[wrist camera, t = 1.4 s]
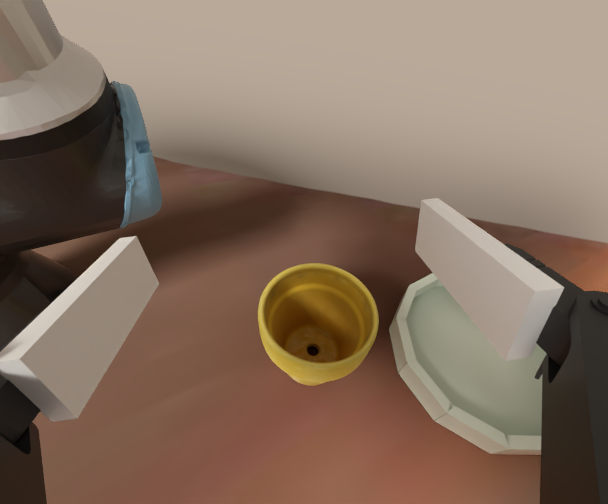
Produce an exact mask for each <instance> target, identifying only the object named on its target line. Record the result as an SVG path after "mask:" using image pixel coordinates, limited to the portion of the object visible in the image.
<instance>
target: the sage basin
mask: <svg viewBox="0 0 608 504" xmlns="http://www.w3.org/2000/svg"><path fill="white" fill-rule="evenodd" d="M389 332H390V337H391V342H392V346H393V351H394V356H395V361H396V365H397V370H398V374H399V375H400V376H401V378H402V379H403V380H404V382H405V383H406V384H407V386H408V387H409V388H410V390H411V391H412V392H413V394H414V395H415V396H416V398H417V399H418V400H419V402H420V403H421V404H422V406H423V407H424V408H425V410H426V411H427V412H428V414H429V415H430V416H431V418H432V419H433V420H435V422H437V423H439V424H440V425H442V426H444V427H445V428H447V429H449V430H450V431H452V432H454V433H455V434H457V435H459V436H461V437H462V438H464V439H466V440H467V441H469V442H471V443H472V444H474V445H476V446H477V447H479V448H481V449H482V450H484V451H486V452H488V453H489V454H517V455H541V426H542V375H541V377H540V378H539V380H538V379H536V378H534V377H535V375H536V372H537V371H538V369H539V367H540V365H541V363H542V361H543V359H544V357H545V356H546V354H547V353H546V352H545V351H544V350H543V349H542V348H541V347H540V346H539V345H538V344H536V346H535V348H534V350H533V352H532V355H531V357H530V358H524V359H516V360H509V361H505V360H504V359H503V357H502V356H501V355H500V354H499V353H498V351H497V350H496V349H495V348H494V346H493V345H492V344H491V343H490V342H489V340H488V339H487V338H486V337H485V335H484V334H483V333H482V332H481V331H480V329H479V328H478V327H477V326H476V325H475V323H474V322H473V321H472V320H471V318H470V317H469V316H468V315H467V314H466V312H465V311H464V310H463V309H462V308H461V306H460V305H459V304H458V303H457V301H456V300H455V299H454V298H453V297H452V295H451V294H450V293H449V292H448V291H447V289H446V288H445V287H444V286H443V284H442V283H441V282H440V281H439V280H438V278H437V277H436V276H435V275H434V273H432V274H430V275H428V276H426V277H424V278H422V279H420V280H418V281H416V282H415V283H413V284H411V285H409V286H408V288H407V290H406V292H405V294H404V295H403V297H402V299H401V301H400V304H399V306H398V309H397V311H396V313H395V316H394V318H393V321H392V323H391V325H390V328H389Z"/></svg>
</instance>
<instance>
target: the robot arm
mask: <svg viewBox="0 0 608 504" xmlns="http://www.w3.org/2000/svg"><path fill="white" fill-rule="evenodd" d="M149 146H150V144H149V140H148V137H147V131H146V128H145V124H144V120H143V117H142V113H141V110H140V107H139V104H138V101H137V98H136V95H135V93H134V91H133V89H132V88H131V87H130V86H128V85H126V84H120V83H118V82H116V83H115V81H113V82H111V83H109V81H108V79H107V77H106V74H105V72H104V70H103V68H102V66H101V64H100V63H99V61H98V60H97V59H96V58H95V57H94V55H92V54H91V53H90V52H88V51H87V50H85V49H84V48H81V47H80V46H78V45H77V44H75V43H73V42H71V41H70V40H68V39H66V38H64V37H63V36H61V35H60V33H59V32H58V30H57V28H56V26H55V24H54V22H53V20H52V18H51V16H50V14H49V13H48V10H47V8H46V6H45V5H44V3H43V1H42V0H0V504H47V502H46V493H45V484H44V475H43V466H42V457H41V448H40V439H39V430H38V428H37V427H36V425H35V424H33V423H32V421H33V420H34V418H35V417H36V416H37V414H38V413H39V412H40V411H41V412H42V413H43V414H44V415H45V416H46V417H47V418H48V419H49V420H51V421H52V422H54V421H62V420H69V419H77V418H78V417H79V415H80V413H81V412H82V410H83V409H84V407H85V405H86V404H87V402H88V400H89V399H90V397H91V395H92V394H93V392H94V390H95V389H96V387H97V385H98V384H99V382H100V381H101V379H102V377H103V376H104V374H105V372H106V371H107V369H108V367H109V366H110V364H111V362H112V361H113V359H114V357H115V356H116V354H117V353H118V351H119V349H120V348H121V346H122V344H123V343H124V341H125V339H126V338H127V336H128V334H129V333H130V331H131V329H132V328H133V326H134V325H135V323H136V321H137V320H138V318H139V316H140V315H141V313H142V311H143V310H144V308H145V306H146V305H147V303H148V301H149V300H150V298H151V297H152V295H153V293H154V292H155V290H156V288H157V287H158V285H159V282H158V280H157V278H156V276H155V274H154V272H153V270H152V268H151V265H150V263H149V261H148V259H147V257H146V255H145V253H144V251H143V249H142V246H141V244H140V242H139V240H138V238H137V236H133V237H125V238H119V239H118V240H117V241H116V242H115V243H114V244H113V245H112V246H111V247H110V248H109V249H108V250H107V251H106V252H105V253H104V254H103V255H102V256H100V257H99V258H98V259H97V260H96V261H95V262H94V263H93V264H92V265H91V266H90V267H89V268H88V269H87V270H86V271H85V272H84V273H83V274H82V275H81V276H79V277H78V278H77V277H76V276H75V275H74V273H73V272H72V271H71V270H69V269H68V268H67V267H65V266H64V265H62V264H60V263H58V262H56V261H54V260H51V259H49V258H47V257H45V256H43V255H41V254H38V253H36V252H34V251H32V250H31V249H35V248H39V247H43V246H47V245H52V244H56V243H60V242H64V241H68V240H72V239H76V238H81V237H85V236H89V235H93V234H97V233H101V232H106V231H110V230H114V229H118V228H120V229H121V228H124V227H126V226H127V225H129V224H132V223H135V222H138V221H141V220H144V219H147V218H151V217H153V216H154V215H156V214H157V213H158V212H159V210H160V209H161V206H162V195H161V189H160V184H159V179H158V175H157V170H156V166H155V162H154V158H153V155H152V152H151V149H150V147H149ZM415 252H416V253H417V254H418V255H419V256H420V258H421V259H422V260H423V261H424V263H425V264H426V265H427V266H428V267H429V269H430V270H431V271H432V272H433V273H434V275H435V276H436V277H437V278H438V280H439V281H440V282H441V283H442V284H443V286H444V287H445V288H446V289H447V291H448V292H449V293H450V294H451V295H452V297H453V298H454V299H455V300H456V301H457V303H458V304H459V305H460V306H461V308H462V309H463V310H464V311H465V312H466V314H467V315H468V316H469V317H470V318H471V320H472V321H473V322H474V323H475V325H476V326H477V327H478V328H479V329H480V331H481V332H482V333H483V334H484V335H485V337H486V338H487V339H488V340H489V342H490V343H491V344H492V345H493V346H494V348H495V349H496V350H497V351H498V353H499V354H500V355H501V356H502V357H503V359H504V360H505V361H509V360H516V359H524V358H530V357H531V355H532V352H533V350H534V348H535V346H536V344H538V345H539V346H540V347H541V348H542V349H543V350H544V351H545V352H546V353H547V354H546V356H545V357H544V359H543V361H542V363H541V365H540V367H539V369H538V371H537V372H536V375H535V377H534V378H536V379H538V380H539V378H540V377H541V375H542V426H541V482H540V504H608V293H606V292H599V291H583V290H582V289H580V288H579V287H577V286H576V285H574V284H573V283H571V282H570V281H568V280H567V279H565V278H564V277H562V276H561V275H560V274H558V273H557V272H555V271H554V270H552V269H551V268H549V267H546V265H545V264H543V263H542V262H540V261H539V260H535V258H534V257H533V256H531V255H530V254H528V253H527V252H525V251H524V250H522V249H519V248H517V247H514V246H512V245H509V244H502V243H501V242H499V241H498V240H496V239H495V238H494V237H492V236H491V235H489V234H488V233H487V232H485V231H484V230H482V229H481V228H479V227H478V226H477V225H475V224H474V223H472V222H471V221H470V220H468V219H467V218H465V217H464V216H463V215H461V214H460V213H458V212H457V211H455V210H454V209H452V208H451V207H450V206H448V205H447V204H446V203H444V202H443V201H441V200H440V199H438V198H433V199H426V200H421V206H420V214H419V222H418V230H417V238H416V246H415Z"/></svg>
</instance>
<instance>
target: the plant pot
mask: <svg viewBox="0 0 608 504" xmlns="http://www.w3.org/2000/svg"><path fill="white" fill-rule="evenodd" d="M258 322H259V329H260V335H261V339H262V342H263V345H264V348H265V350H266V352H267V354H268V355H269V357H270V358H271V360H272V361H273V362H274V363H275V364H276V365H277V366H278V367H279V368H280V369H282V370H283V371H284V372H286V373H287V374H288V375H289V376H290V377H291V378H292V379H293V380H295V381H297V382H299V383H301V384H304V385H319V384H322V383H325V382H328V381H333V380H337V379H340V378H342V377H344V376H346V375H348V374H350V373H351V372H352V371H354V370H355V369H356V368H357V367H358V366H359V365H360V364H361V362H362V361H363V360H364V358H365V357H366V355H367V354H368V352H369V350H370V349H371V347H372V345H373V343H374V341H375V338H376V335H377V332H378V325H379V317H378V310H377V306H376V303H375V301H374V298H373V297H372V295H371V293H370V292H369V290H368V289H367V288H366V286H365V285H364V284H363V283H362V282H361V281H360V280H358V279H357V278H356V277H355V276H353V275H352V274H350V273H349V272H347V271H345V270H343V269H340V268H338V267H335V266H331V265H327V264H321V263H309V264H301V265H297V266H294V267H291V268H288V269H286V270H284V271H283V272H281V273H279V274H278V275H277V276H275V277H274V278H273V279H272V280H271V281H270V282H269V283H268V285H267V286H266V288H265V289H264V291H263V293H262V295H261V298H260V301H259V306H258ZM310 346H314V347H316V348H317V349H318V354H317V355H316V356H311V355H309V354H308V352H307V349H308V347H310Z"/></svg>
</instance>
